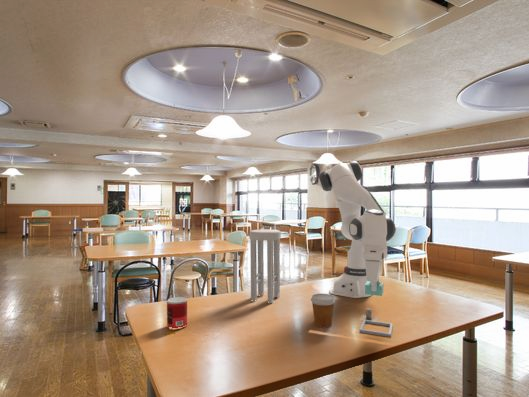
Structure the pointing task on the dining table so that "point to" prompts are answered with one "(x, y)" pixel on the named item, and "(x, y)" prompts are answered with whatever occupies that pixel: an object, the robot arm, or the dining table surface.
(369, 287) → the ring
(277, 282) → the stool
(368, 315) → the stake
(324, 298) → the disposable coffee cup
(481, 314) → the dining table surface
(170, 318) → the canned food
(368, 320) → the tray
